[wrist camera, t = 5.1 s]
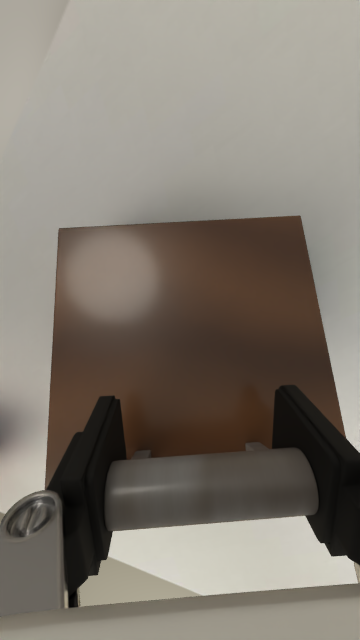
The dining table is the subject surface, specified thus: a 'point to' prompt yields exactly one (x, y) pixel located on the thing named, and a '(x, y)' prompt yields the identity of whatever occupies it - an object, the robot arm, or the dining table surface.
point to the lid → (190, 365)
